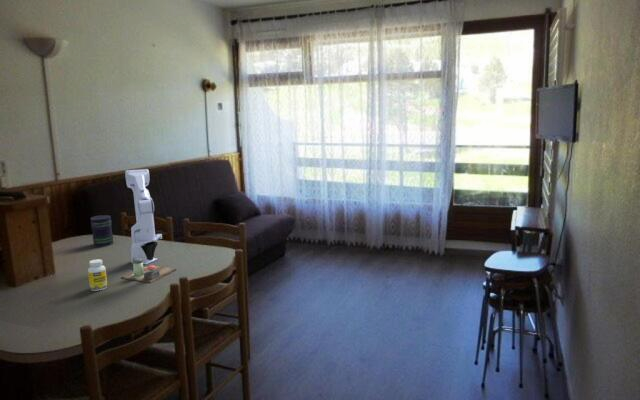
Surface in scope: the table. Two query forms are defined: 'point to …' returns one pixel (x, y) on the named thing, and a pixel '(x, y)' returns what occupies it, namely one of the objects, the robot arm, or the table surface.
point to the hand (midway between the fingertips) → (150, 259)
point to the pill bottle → (97, 275)
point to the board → (161, 269)
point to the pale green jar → (138, 267)
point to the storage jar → (102, 230)
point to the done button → (151, 267)
